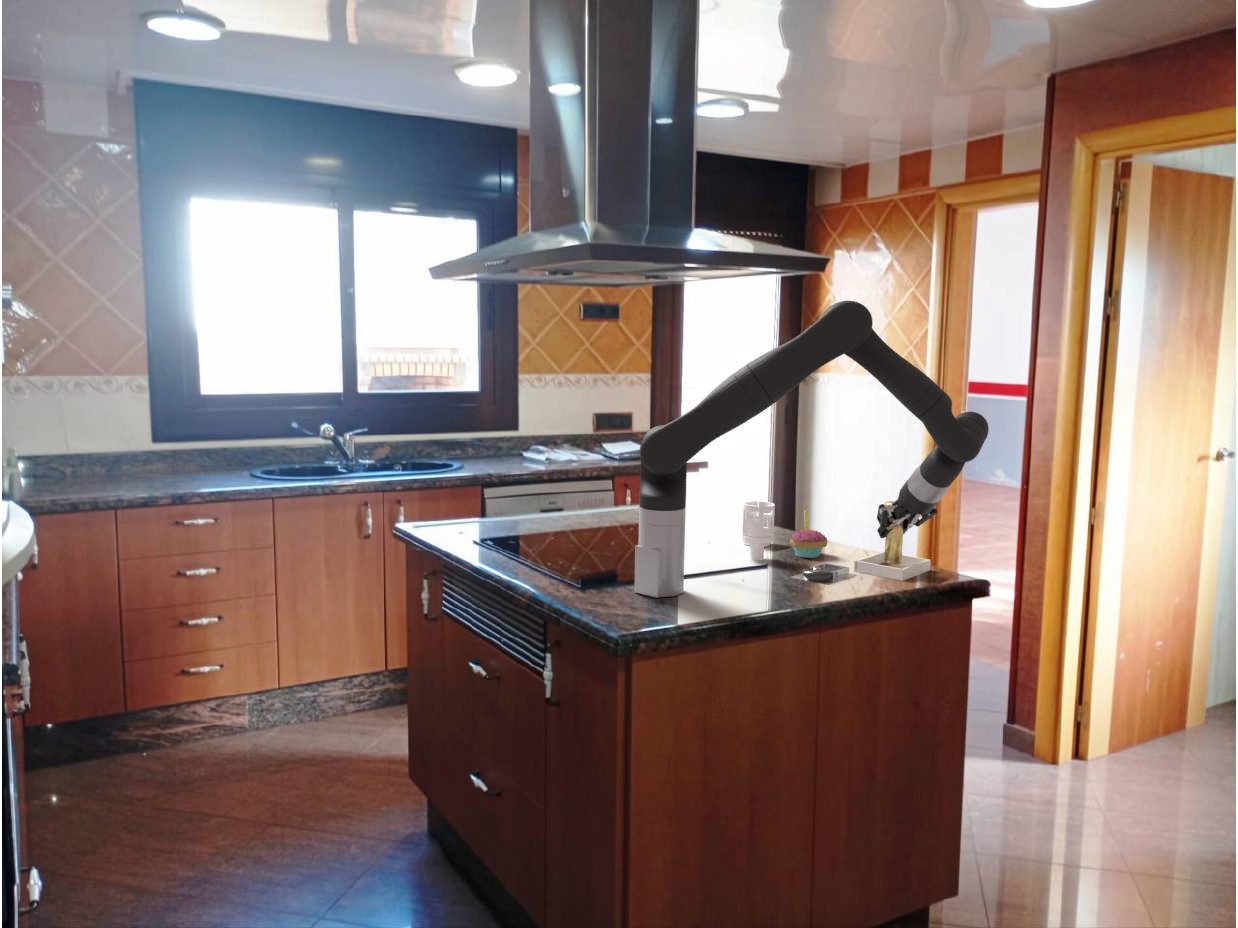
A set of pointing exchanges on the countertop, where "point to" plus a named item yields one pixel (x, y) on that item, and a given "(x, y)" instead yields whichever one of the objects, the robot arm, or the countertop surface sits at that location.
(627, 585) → the countertop surface
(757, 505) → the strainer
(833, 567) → the tensioner plate
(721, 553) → the countertop surface
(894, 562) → the gold mushroom peg
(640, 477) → the robot arm
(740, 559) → the countertop surface
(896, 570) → the tray
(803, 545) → the cupcake
